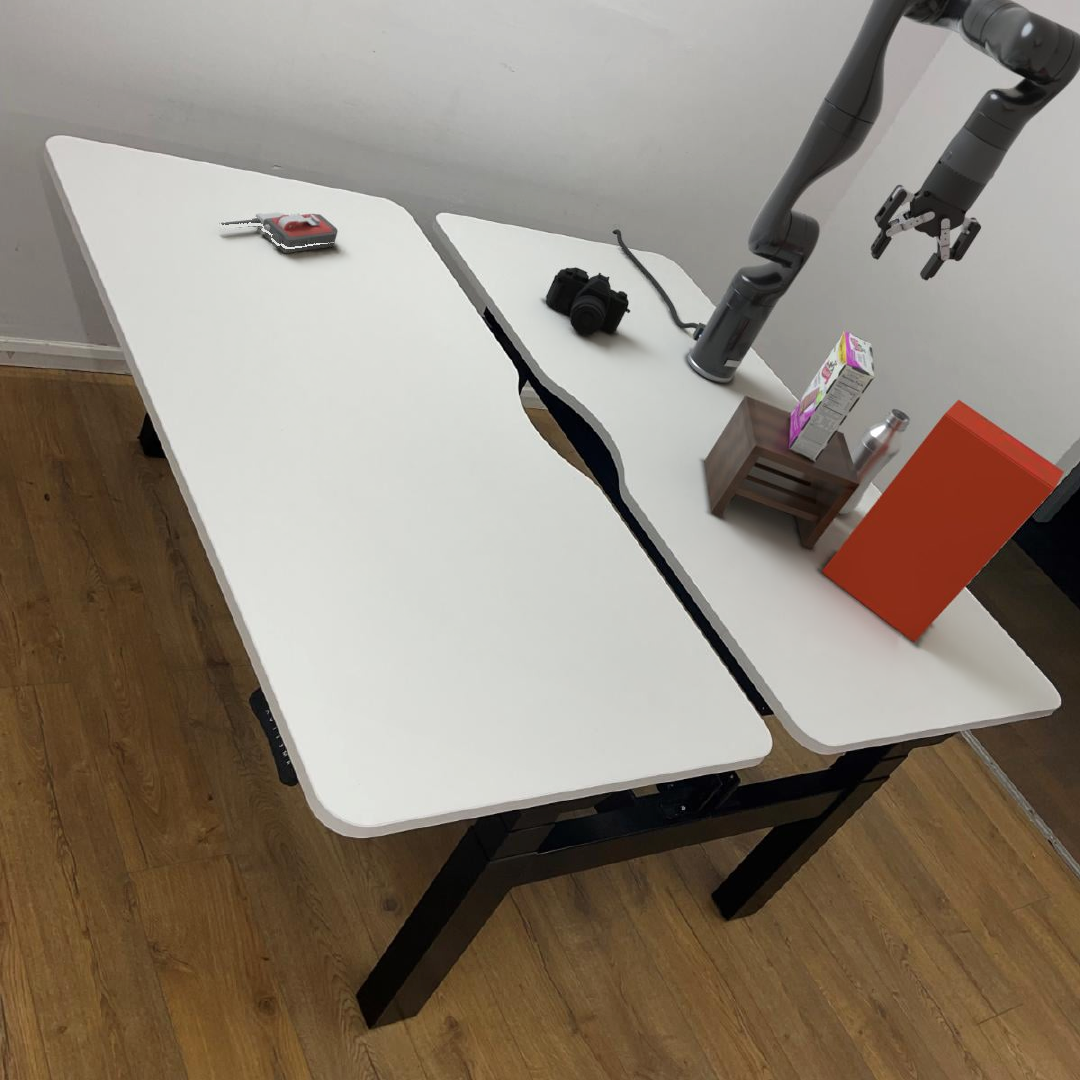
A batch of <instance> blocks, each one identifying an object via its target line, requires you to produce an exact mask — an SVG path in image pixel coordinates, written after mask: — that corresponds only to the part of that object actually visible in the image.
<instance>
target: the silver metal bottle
mask: <svg viewBox="0 0 1080 1080" xmlns="http://www.w3.org/2000/svg"><path fill="white" fill-rule="evenodd" d="M911 422H912V420H911V417H910V416H909V415H908V414H906V412H904V411H902V410H901V409H898V408H891V409H890V410H889V412H888V413H887V414H886V415H885V416H884V418H883V421H880V422H877V423H874V424H872V425H870V426H869V427H867V428H866V429H865V430H864V432H863V433H862V435H861V437H860V438H859V441H858V442H857V444H856V447H855V448H854V450H853V451H852V453H850V455H851V458H852V461H853V464H854V467H855V470H856V474H857V477H858V480H859V483H860V485H859V487H858V488H857V489H856V491H855V492H854V493H853V494H852V496H851V497H850V498H849V500H848V501H847V502H846V504H845V505H844V506H843V508H842V509H841V510H840V512H839V513H838V514H840V515H841V514H842V515H843V514H844V515H845V514H849V513H852V512H853V511H854V510H855V509H856V508H857V507H858V506H859V504H860V503H861V501H862V500H863V497H864V494H865V493H866V491H867V489H868V488H869V486H870V485H871V483H872V482H873V480H874V479H875V478H876V477H877V475H878V474H879V473H880V472H881V471H882V470H883V469H884V468H885V466H887V465H888V464H889V463H890V462H891V461H892V460H893V459H894V458H895V457H896V456H897V455H898V454H899V453H900V451H901V448H902V444H903V435H902V434H903V433H904V432H905V431H906V430H907V428H908V426H909V425H910V423H911ZM902 432H903V433H902Z"/></svg>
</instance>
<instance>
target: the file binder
mask: <svg viewBox="0 0 1080 1080" xmlns="http://www.w3.org/2000/svg"><path fill="white" fill-rule="evenodd" d="M1064 473H1065V471H1064V470H1063V469H1061V468H1059V467H1058V466H1057V465H1055V464H1054V463H1052V462H1051V461H1049V460H1048V459H1046V458H1045V457H1043V456H1042V455H1041V454H1039V453H1038V452H1037V451H1035V450H1034V449H1032V448H1031V447H1029V446H1028V445H1026V444H1024V442H1022V441H1020V440H1018V439H1017V438H1016V437H1014V436H1013V435H1012V434H1010V433H1009V432H1007V431H1005V430H1004V429H1003V428H1001V427H1000V426H998V425H997V424H995V423H994V422H993V421H991V420H989V419H988V418H986V417H985V416H984V415H982V414H981V413H979V412H977V411H976V410H975V409H974V408H972V407H971V406H969V405H968V404H966V403H965V402H963V401H962V400H960V399H958V400H957V401H956V402H955V403H954V404H952V405H951V406H950V408H948V410H947V411H946V412H945V413H944V414H943V415H942V416H941V418H940V419H939V421H938V422H937V423H936V424H935V425H934V427H933V428H932V429H931V431H930V432H929V433H928V435H927V436H926V437H925V438H924V440H922V442H921V444H920V445H919V446H918V447H917V449H916V450H915V451H914V452H913V454H912V455H911V456H910V458H909V459H908V460H906V463H905V464H904V465H903V467H902V468H901V469H900V470H899V471H898V473H897V475H895V477H894V478H893V479H892V481H891V482H890V483H889V484H888V485H887V487H886V488H885V490H884V491H883V492H882V493H881V494H880V496H879V497H878V499H876V501H875V502H874V504H873V505H872V506H871V508H870V509H869V510H868V511H867V512H866V514H865V515H864V517H863V518H862V519H861V521H859V523H858V524H857V526H856V527H855V528H854V529H853V531H852V532H851V533H850V535H848V537H847V538H846V540H845V541H844V542H843V543H842V545H841V546H840V548H839V549H838V550H837V551H836V553H835V554H833V556H832V558H831V559H830V560H829V562H828V563H827V564H826V565H825V567H824V568H823V569H822V570H821V573H822V574H823V575H825V576H826V577H827V578H829V579H830V580H831V581H832V582H834V583H835V584H836V585H838V586H839V587H840V588H841V589H842V590H844V591H845V592H847V593H848V594H849V595H851V596H852V597H853V598H854V599H856V600H857V601H859V602H860V603H861V604H863V605H864V606H865V607H867V609H869V610H870V611H872V612H873V613H874V614H875V615H877V616H878V617H879V618H881V619H882V620H883V621H884V622H886V623H887V624H889V625H890V626H891V627H893V628H894V629H895V630H897V631H898V632H899V633H900V634H902V635H903V636H904V637H906V638H907V639H908V640H910V641H911V642H912V643H915V642H916V641H918V639H919V638H920V637H921V636H922V635H923V634H924V633H925V632H926V630H928V628H929V627H930V626H931V625H932V624H933V623H934V622H935V621H936V620H937V618H938V617H939V616H940V615H942V613H943V612H944V611H945V610H946V609H947V608H948V606H949V605H950V604H951V603H952V602H953V601H954V600H955V599H956V598H957V597H958V595H959V594H960V593H961V592H963V590H964V589H965V588H966V586H967V585H968V584H969V583H970V582H971V581H973V579H974V578H975V577H976V576H977V575H978V573H980V572H981V570H982V569H983V568H984V567H985V566H986V565H987V564H988V562H990V561H991V559H992V558H993V557H994V556H995V555H996V554H997V553H998V552H999V551H1000V550H1001V548H1003V546H1004V545H1005V544H1006V543H1007V542H1008V541H1009V540H1010V538H1011V537H1012V536H1013V535H1014V534H1015V533H1016V532H1017V531H1018V530H1019V528H1020V527H1022V526H1023V524H1024V523H1025V522H1027V520H1028V519H1029V518H1030V516H1032V515H1033V513H1034V512H1035V511H1036V510H1037V509H1038V508H1039V507H1040V506H1041V505H1042V503H1043V502H1044V501H1045V500H1046V499H1047V498H1048V497H1049V496H1050V495H1051V494H1052V492H1054V490H1055V489H1056V487H1057V485H1058V484H1059V482H1060V481H1061V479H1062V477H1063V475H1064Z"/></svg>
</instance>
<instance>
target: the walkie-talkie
mask: <svg viewBox="0 0 1080 1080" xmlns="http://www.w3.org/2000/svg"><path fill="white" fill-rule="evenodd" d="M255 217H257V218H251V219H252V220H251V219H243V220H236V221H225V223H224V222H220V223H221V224H222V225H224V224H225V225H229V224H239V223H240V224H241V223H243V224H244V223H247V224H248V223H249V222H251V223H261V224H263V226H264V229H265V230H267V231H269V232H270V233H271V234H273V235H272V237H271V235H269V234H268V233H266V232H263V231H262V230H260V229H262V228H263V227H262V226H252V227H253V228H255V227H256V228H258V229H259V233H260V234H261V235H263V236H264V237H265V238H266V239H268V241H269V242H271V243H272V245H273V246H274V247H275V248H278V249H279V250H280V251H281V252H282V253H285V254H288V253H289V254H290V253H296V252H297V253H298V252H305V251H310V250H311V251H312V250H319V249H325V248H333V247H334V245H335V242H336V238H337V236H338V232H339V231H338V228H337V227H336V226H334V225H333V224H332V223H331V222H330V221H328V219H326V218H325V216H323V215H322V214H320V213H319V214H318V213H306V214H300V213H294V214H293V213H292V214H290V215H289V214H284V213H280V212H267V213H256V214H255ZM248 227H250V226H248ZM248 227H247V228H248ZM239 228H241V227H239ZM239 228H238V229H239ZM271 238H273V239H274V240H275V241H276V242H277V243H279V244H281V243H282V244H284V245H285V246H287V247H295V246H305V244H306V245H308V244H314V243H315V244H316V243H328V242H329V243H330V242H334V243H330V244H329V243H328V244H320V245H313V246H307V247H302V248H295V249H285V248H283V247H282V246H281V245H280V246H277V245H276V244H275V243H274V242H272V240H271Z"/></svg>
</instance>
